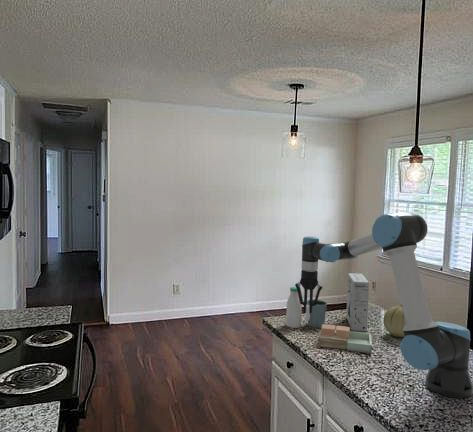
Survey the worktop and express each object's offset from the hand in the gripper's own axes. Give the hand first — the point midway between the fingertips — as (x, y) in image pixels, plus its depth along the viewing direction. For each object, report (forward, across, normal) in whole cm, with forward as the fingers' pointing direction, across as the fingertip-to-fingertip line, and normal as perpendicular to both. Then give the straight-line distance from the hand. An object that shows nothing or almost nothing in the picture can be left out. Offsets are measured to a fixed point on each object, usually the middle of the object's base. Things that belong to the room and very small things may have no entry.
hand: (307, 319), depth 195 cm
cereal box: (+10, -22, -31) cm, 39 cm away
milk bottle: (+10, +9, -17) cm, 21 cm away
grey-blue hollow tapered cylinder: (+10, -2, -23) cm, 25 cm away
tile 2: (+5, -16, 0) cm, 17 cm away
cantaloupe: (+9, -42, -19) cm, 47 cm away
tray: (+9, -24, 0) cm, 25 cm away
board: (+9, -12, 0) cm, 15 cm away
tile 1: (+5, -10, 0) cm, 11 cm away
